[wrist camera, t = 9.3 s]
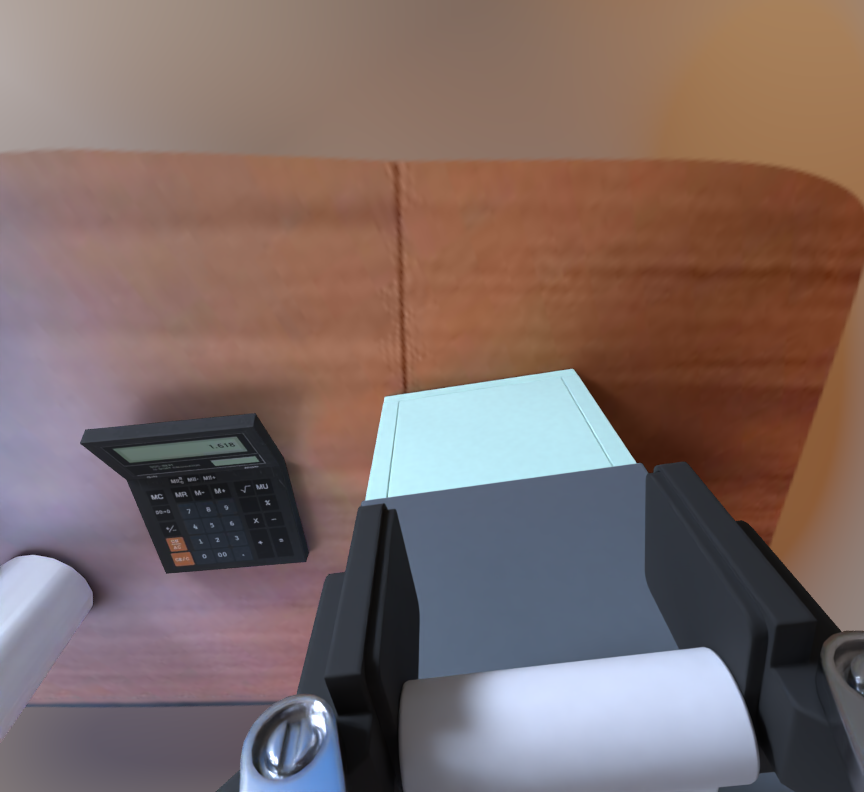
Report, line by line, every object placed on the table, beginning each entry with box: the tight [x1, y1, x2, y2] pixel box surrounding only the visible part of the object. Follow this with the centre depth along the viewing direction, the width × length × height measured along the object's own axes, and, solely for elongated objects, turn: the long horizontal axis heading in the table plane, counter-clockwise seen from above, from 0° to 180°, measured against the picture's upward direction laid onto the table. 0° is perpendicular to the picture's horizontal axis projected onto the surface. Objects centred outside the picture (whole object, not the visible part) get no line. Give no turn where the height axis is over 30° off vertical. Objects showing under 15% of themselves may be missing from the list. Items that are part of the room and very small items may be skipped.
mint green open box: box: [365, 369, 636, 501], centre depth 28 cm, size 13×11×10 cm
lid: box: [361, 463, 794, 792], centre depth 13 cm, size 14×11×5 cm
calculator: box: [80, 413, 309, 574], centre depth 31 cm, size 9×12×3 cm
